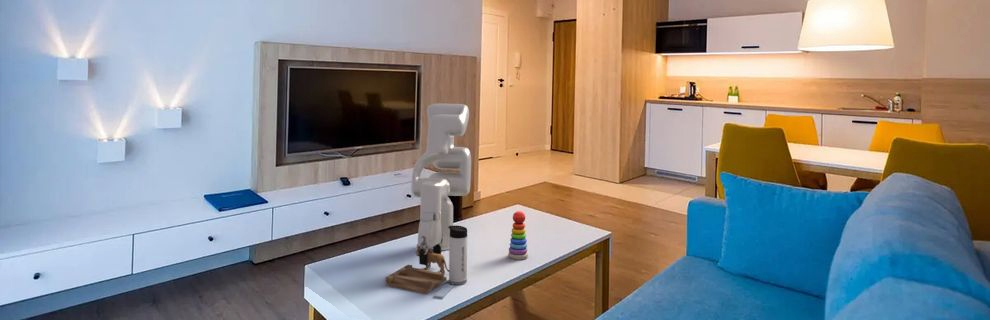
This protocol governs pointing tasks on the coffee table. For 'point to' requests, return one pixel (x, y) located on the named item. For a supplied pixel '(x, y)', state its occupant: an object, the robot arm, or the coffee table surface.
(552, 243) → the coffee table surface
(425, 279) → the cradle jig
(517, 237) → the stacking toy
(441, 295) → the plank
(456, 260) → the travel mug
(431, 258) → the lion figurine
